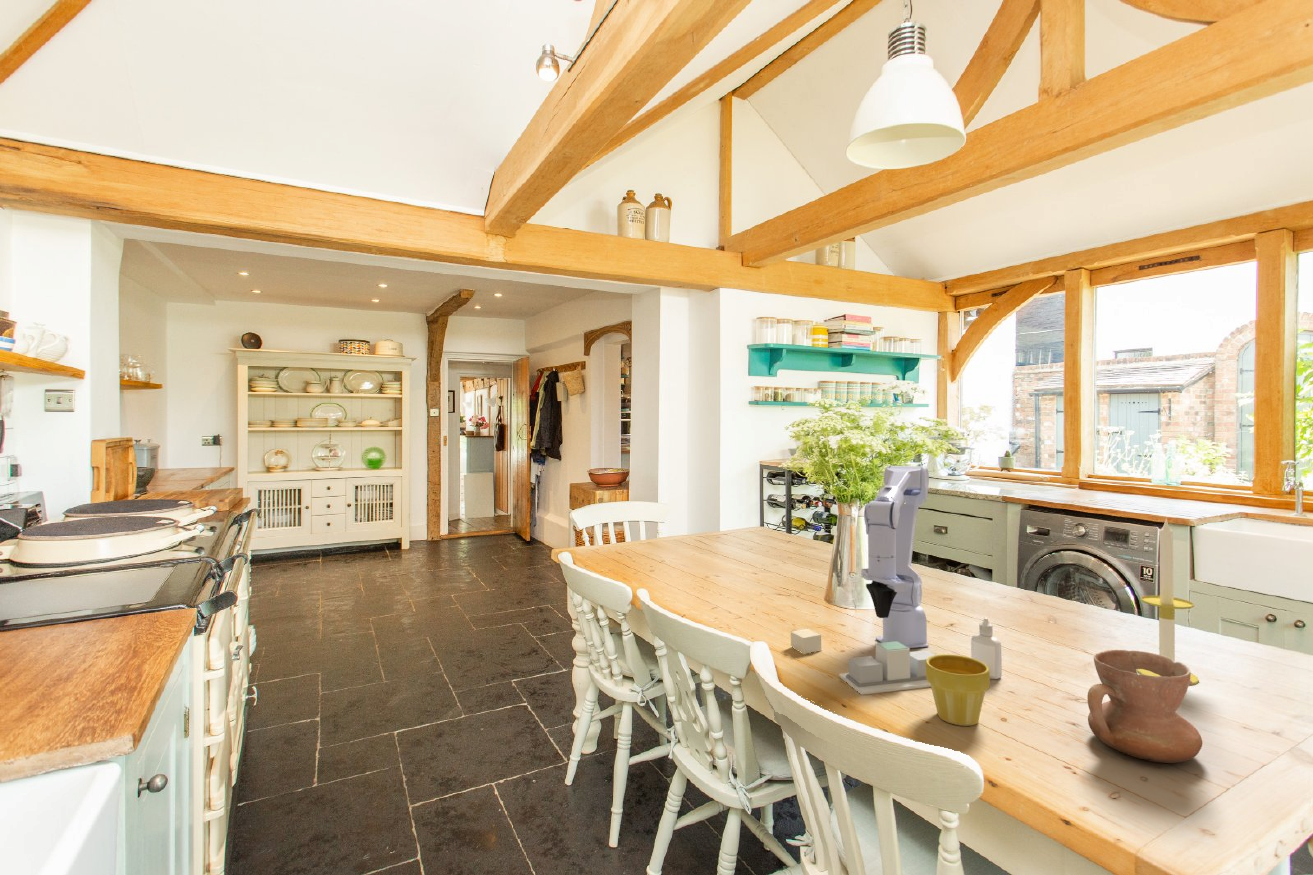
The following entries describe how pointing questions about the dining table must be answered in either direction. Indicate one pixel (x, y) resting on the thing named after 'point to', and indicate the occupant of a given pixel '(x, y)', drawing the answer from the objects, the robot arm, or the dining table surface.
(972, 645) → the eye dropper bottle
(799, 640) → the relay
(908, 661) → the block
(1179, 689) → the ceramic jug
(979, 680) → the plant pot
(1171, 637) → the candle
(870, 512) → the robot arm
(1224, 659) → the dining table surface
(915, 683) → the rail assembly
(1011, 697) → the dining table surface
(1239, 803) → the dining table surface
